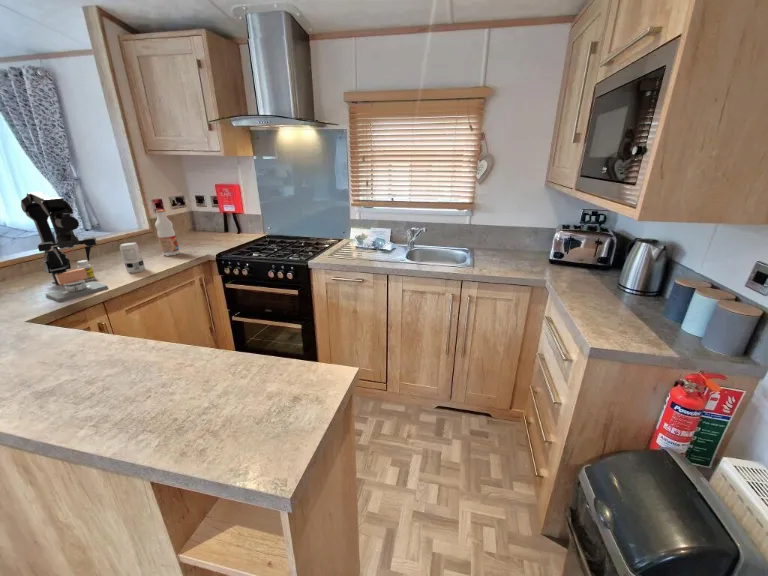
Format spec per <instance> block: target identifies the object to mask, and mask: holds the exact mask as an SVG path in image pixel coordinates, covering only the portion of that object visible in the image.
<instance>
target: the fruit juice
mask: <svg viewBox="0 0 768 576" xmlns="http://www.w3.org/2000/svg"><path fill="white" fill-rule="evenodd" d="M155 214H156V215H157V216H156V217H157V218H156V221H155V223H154V226H155V228H156V230H157V231H156V232H157V234H156V235H157V237H158V242H159V245H160V248H161V249H160V250H161V252H162V255H163V256H164V255H166V256H165V257H170V256H169V255H174V256H177V255H176V254H178V255H179V254H180V248H179V244H178V240H177V236H176V232H175V230H174V229H173V226H174V224H173V222H172V221H171V220H170V219H169V218H168V216H167V215H166V210H165V209H155Z"/></svg>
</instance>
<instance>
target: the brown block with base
mask: <svg viewBox="0 0 768 576" xmlns="http://www.w3.org/2000/svg"><path fill="white" fill-rule="evenodd" d="M55 276H56V279H57V281H58V284H60V285H63V286H64V289H66V291H67V292H75V291H79V290H83V289H85V288H87V286H86V283H87V282H86V281H84V279H86V278H88V276H87V273H86V271H85V269H84V268H81V269H78V268H76V269H73V270H67V272H63V273H59V274H55ZM76 284H79V285H76ZM60 285H59V286H60ZM71 285H75V286H71Z"/></svg>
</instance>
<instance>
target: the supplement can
mask: <svg viewBox="0 0 768 576" xmlns="http://www.w3.org/2000/svg"><path fill="white" fill-rule="evenodd" d="M119 251H120V252H121V253H120V254H121V256H122V260H123V263H124V266H125V269H126V270H125V271H126V272H127V273H130V274H134V273H140V272H143V271H145V269H146V267H145V264H144V260H143V257H142V253H141V251H140V247H139V245H138V244H137V242H125V243H121V244H120V245H119Z"/></svg>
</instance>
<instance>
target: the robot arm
mask: <svg viewBox="0 0 768 576" xmlns="http://www.w3.org/2000/svg"><path fill="white" fill-rule="evenodd" d="M20 207H21V210H22V211H23V213H25V215H26V216H27V217H28V218H29V219H30V220H32V221H33V222H34V225H35V227H36V230H37V233H38V236H39V238H40V241H41V242H40V243H39V244H38V245H37V248H38V251H39V252H44V255H43V258H42V259H43V270H44V272H45V273H47V274H51V276H52V279H53V281H52V282H51V283H52V284H54V285H57V286H60V284H58V281H57V279H56V276H55V274H59V273H63V272H67V271H68V270H71V269H72V267H71V263H70V259H68V257H67V256H66V254H65V253H63V252H62V251H61V250H59V249H64V248H65V249H66V248H70V249H71V248H74V246H79V245H84V250H85V254H86V258H87V259H86V260H87V261H88V262H90V260H91V250H92V248H93V247H94V246H96V245H97V244H98V240H97V238H96V237H94V236H92V237H90V236H89V237H84V238H83V239H82V240H81V239H80V240H79V237H78V235H77V234H75V233H74V231H75V230H76V229H78V227H79V226H80V222H79V220H78V219H77V218H76V217H74V216H72V215H73V214H74V211H73V208H72V206H71V205H70V204H69V202H67V201H66V199H64V198H63V197H60V196H58V197H52V196H50V195H47V194H45V193H44V192H42V191H32V192H27V193H26V196H25V197H24V198H23V199H21V201H20ZM48 219H50V222H51V224H52V227H53V231H54V233H55V237H54V234H53V232H52V229H51V227H50V224H49V221H48Z"/></svg>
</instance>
